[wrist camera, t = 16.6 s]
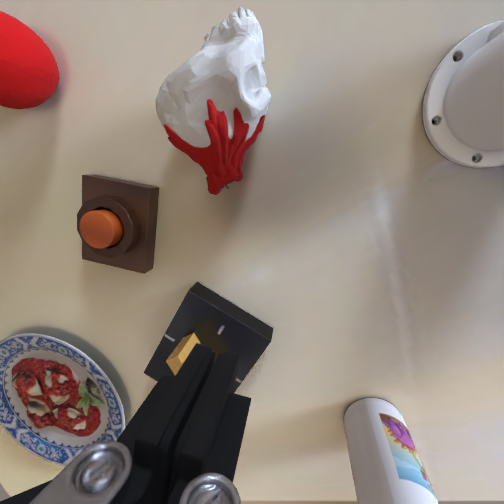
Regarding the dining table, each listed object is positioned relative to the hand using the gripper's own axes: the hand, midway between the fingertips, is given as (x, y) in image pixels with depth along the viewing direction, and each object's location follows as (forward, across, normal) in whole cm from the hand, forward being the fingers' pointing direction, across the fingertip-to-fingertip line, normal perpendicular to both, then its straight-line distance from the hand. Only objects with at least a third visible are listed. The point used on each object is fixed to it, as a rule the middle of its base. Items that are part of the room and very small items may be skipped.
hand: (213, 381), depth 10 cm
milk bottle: (+25, -18, +22) cm, 38 cm away
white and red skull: (+25, +8, -12) cm, 29 cm away
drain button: (+21, +20, +2) cm, 29 cm away
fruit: (+25, +32, -14) cm, 43 cm away
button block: (+25, +20, +2) cm, 32 cm away
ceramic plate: (+25, +30, +34) cm, 52 cm away
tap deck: (+25, +6, +17) cm, 31 cm away
